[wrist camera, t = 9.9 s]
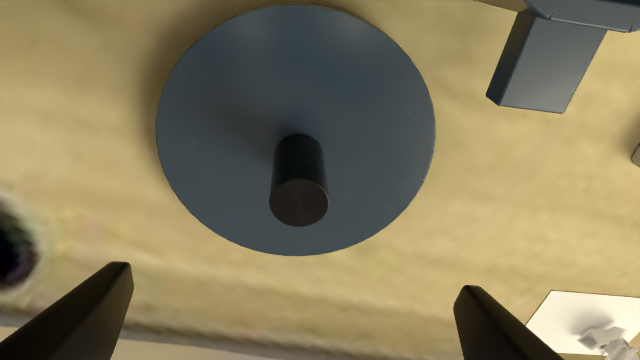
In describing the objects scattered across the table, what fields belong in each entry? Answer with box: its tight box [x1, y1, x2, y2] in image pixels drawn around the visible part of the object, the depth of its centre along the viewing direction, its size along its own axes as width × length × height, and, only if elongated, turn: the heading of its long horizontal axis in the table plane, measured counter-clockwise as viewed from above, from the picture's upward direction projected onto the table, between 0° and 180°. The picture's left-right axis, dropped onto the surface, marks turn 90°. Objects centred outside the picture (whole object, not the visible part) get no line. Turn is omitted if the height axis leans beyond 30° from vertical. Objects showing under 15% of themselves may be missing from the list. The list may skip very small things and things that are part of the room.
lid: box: [156, 3, 436, 256], centre depth 16 cm, size 13×13×5 cm
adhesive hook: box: [575, 325, 640, 360], centre depth 27 cm, size 3×3×3 cm
